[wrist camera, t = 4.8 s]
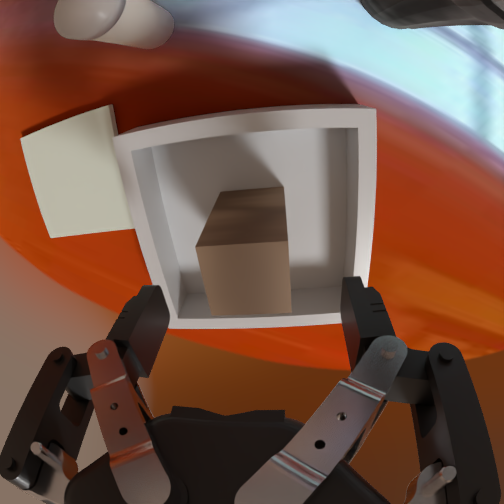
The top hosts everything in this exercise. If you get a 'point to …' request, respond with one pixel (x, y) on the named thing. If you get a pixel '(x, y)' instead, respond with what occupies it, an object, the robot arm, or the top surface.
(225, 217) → the walnut block
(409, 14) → the beverage cup
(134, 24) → the salt shaker
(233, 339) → the top surface
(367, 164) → the grey tub
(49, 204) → the sage coaster
